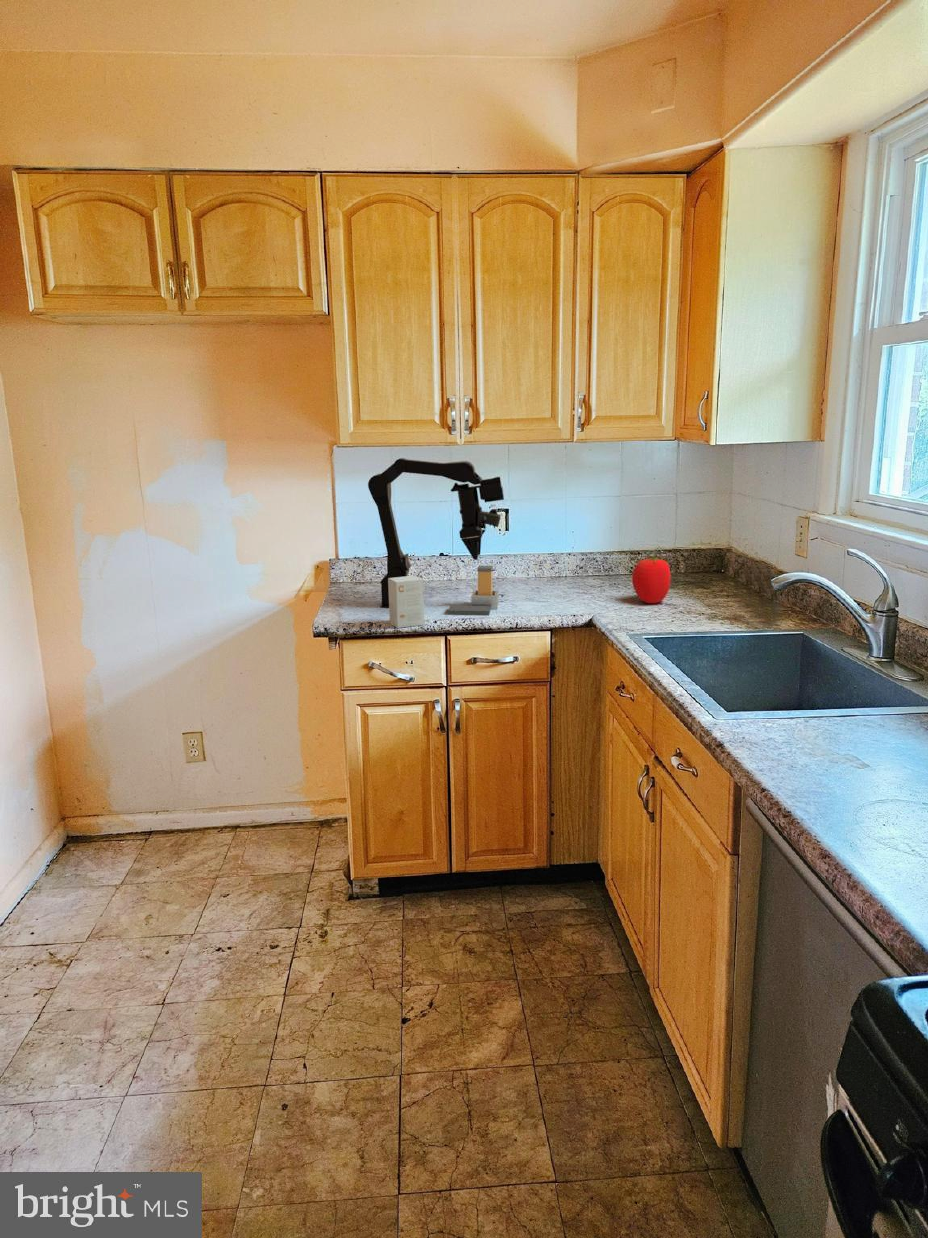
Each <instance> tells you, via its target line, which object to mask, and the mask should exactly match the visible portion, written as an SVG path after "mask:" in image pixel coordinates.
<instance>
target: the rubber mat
mask: <svg viewBox="0 0 928 1238" xmlns="http://www.w3.org/2000/svg"><path fill="white" fill-rule="evenodd" d="M491 610H492V609H491V606H471V605H455V604H453V605H450V606H449V607H448V609H447V615H448V616H450V615H453V616H454V615H455V616H459V615H460V616H462V615H463V616H490V614H491Z"/></svg>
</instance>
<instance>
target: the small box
mask: <svg viewBox="0 0 928 1238" xmlns="http://www.w3.org/2000/svg"><path fill="white" fill-rule="evenodd" d="M388 589H389V607H388V608H389V611H388V613H389V624H390V625H391V626H393V627H395V628H397V629H403V628H409V627H417V626H424V625H425V610H424V609H425V608H424V605H425V604H424V580H423V578H421V577H419V576H417V575H407V576H405V577H395V578H388Z"/></svg>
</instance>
